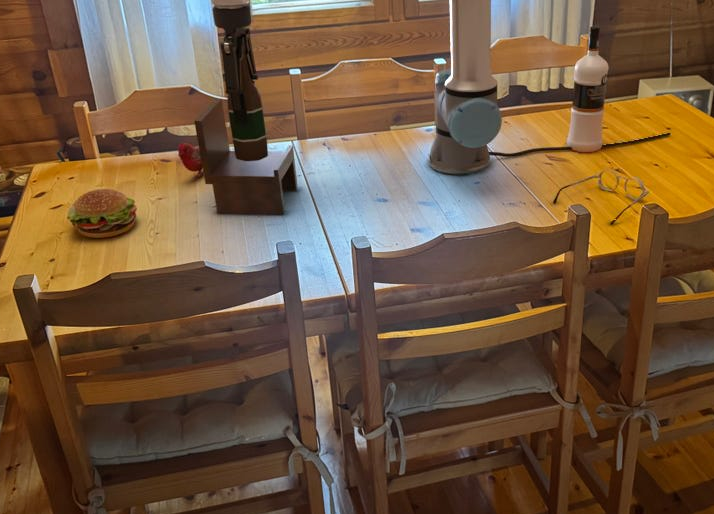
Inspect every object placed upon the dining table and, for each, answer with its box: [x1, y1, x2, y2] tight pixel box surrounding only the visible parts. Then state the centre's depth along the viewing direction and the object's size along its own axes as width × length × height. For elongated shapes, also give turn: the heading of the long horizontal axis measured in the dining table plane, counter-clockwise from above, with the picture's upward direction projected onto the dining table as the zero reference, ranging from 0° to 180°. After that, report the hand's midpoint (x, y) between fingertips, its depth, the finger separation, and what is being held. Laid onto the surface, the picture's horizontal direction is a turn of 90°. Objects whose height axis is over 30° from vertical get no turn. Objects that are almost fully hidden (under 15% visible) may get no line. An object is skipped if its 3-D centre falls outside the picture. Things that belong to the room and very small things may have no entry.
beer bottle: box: [227, 45, 269, 161], centre depth 175 cm, size 8×8×24 cm
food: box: [66, 188, 138, 239], centre depth 174 cm, size 14×14×8 cm
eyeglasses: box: [552, 168, 650, 225], centre depth 182 cm, size 17×15×5 cm
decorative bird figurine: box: [177, 142, 203, 180], centre depth 199 cm, size 3×18×10 cm, turn 164°
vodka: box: [566, 25, 610, 153], centre depth 205 cm, size 9×9×30 cm
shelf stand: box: [193, 98, 299, 216], centre depth 182 cm, size 16×15×21 cm
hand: (246, 117), depth 176 cm, fingers closed on beer bottle, 8 cm apart
